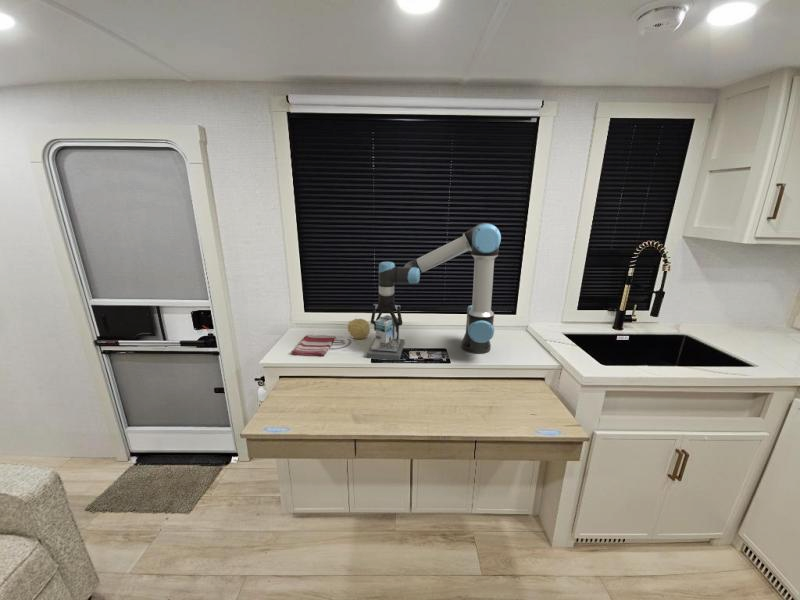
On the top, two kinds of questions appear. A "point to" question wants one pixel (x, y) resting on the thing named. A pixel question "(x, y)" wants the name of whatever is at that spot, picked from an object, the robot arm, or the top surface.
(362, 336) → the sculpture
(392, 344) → the pan
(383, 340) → the light bulb box
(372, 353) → the scale base
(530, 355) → the top surface
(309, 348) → the dish towel
